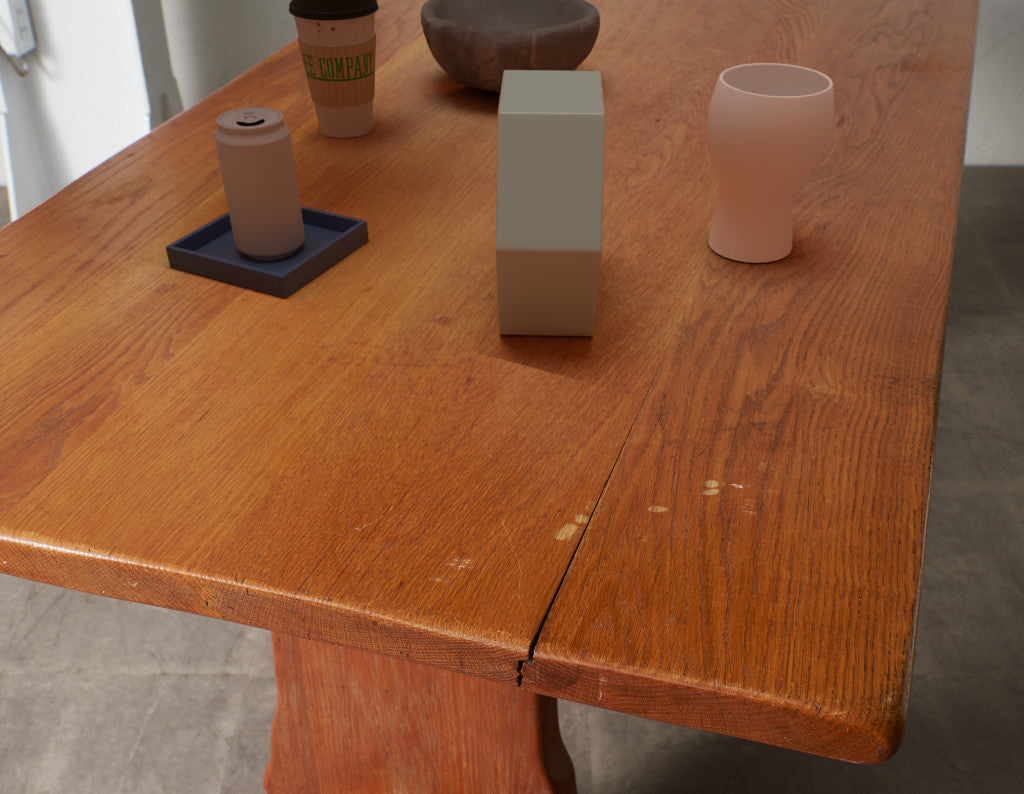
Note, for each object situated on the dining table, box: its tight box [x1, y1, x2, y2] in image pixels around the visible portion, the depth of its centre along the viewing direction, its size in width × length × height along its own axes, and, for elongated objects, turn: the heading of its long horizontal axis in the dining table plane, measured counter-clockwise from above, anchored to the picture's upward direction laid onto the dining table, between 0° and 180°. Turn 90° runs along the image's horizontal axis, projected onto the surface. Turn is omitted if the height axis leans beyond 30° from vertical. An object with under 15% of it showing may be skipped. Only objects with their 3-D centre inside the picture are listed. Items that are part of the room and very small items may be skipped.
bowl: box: [420, 0, 601, 93], centre depth 128 cm, size 23×22×10 cm
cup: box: [706, 62, 835, 264], centre depth 90 cm, size 11×11×15 cm
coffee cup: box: [288, 0, 380, 139], centre depth 115 cm, size 10×10×15 cm
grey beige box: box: [494, 70, 606, 337], centre depth 81 cm, size 17×8×21 cm
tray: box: [165, 205, 370, 299], centre depth 93 cm, size 13×13×2 cm
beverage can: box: [214, 106, 305, 260], centre depth 90 cm, size 6×6×12 cm
